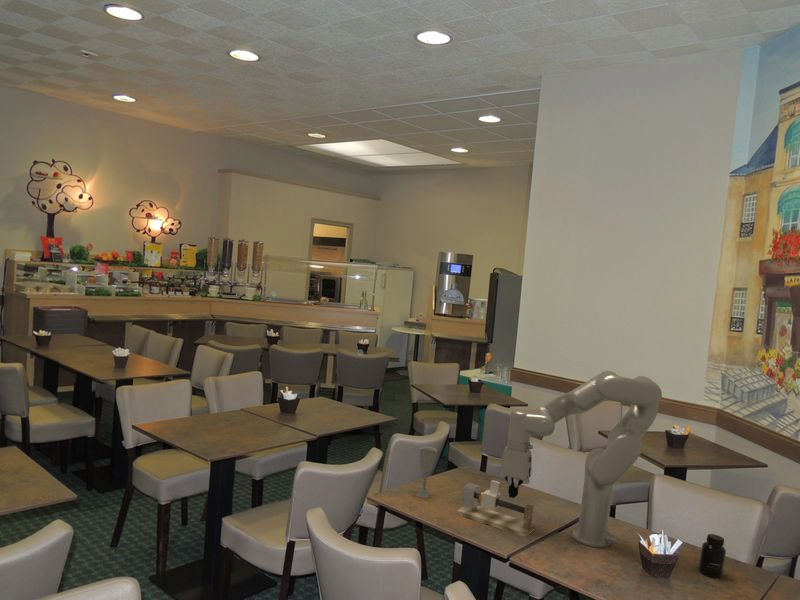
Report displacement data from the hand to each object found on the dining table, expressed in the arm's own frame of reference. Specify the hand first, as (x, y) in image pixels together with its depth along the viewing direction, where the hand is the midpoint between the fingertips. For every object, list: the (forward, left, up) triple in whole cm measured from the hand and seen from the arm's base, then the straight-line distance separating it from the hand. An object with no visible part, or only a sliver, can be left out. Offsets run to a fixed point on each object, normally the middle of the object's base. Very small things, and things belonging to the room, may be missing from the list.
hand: (512, 496), depth 222 cm
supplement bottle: (-63, -14, -11) cm, 65 cm away
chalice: (+36, -2, -11) cm, 38 cm away
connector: (+14, 0, -9) cm, 17 cm away
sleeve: (+8, 0, -6) cm, 10 cm away
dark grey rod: (+5, 0, -4) cm, 7 cm away
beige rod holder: (+5, 0, -11) cm, 12 cm away
